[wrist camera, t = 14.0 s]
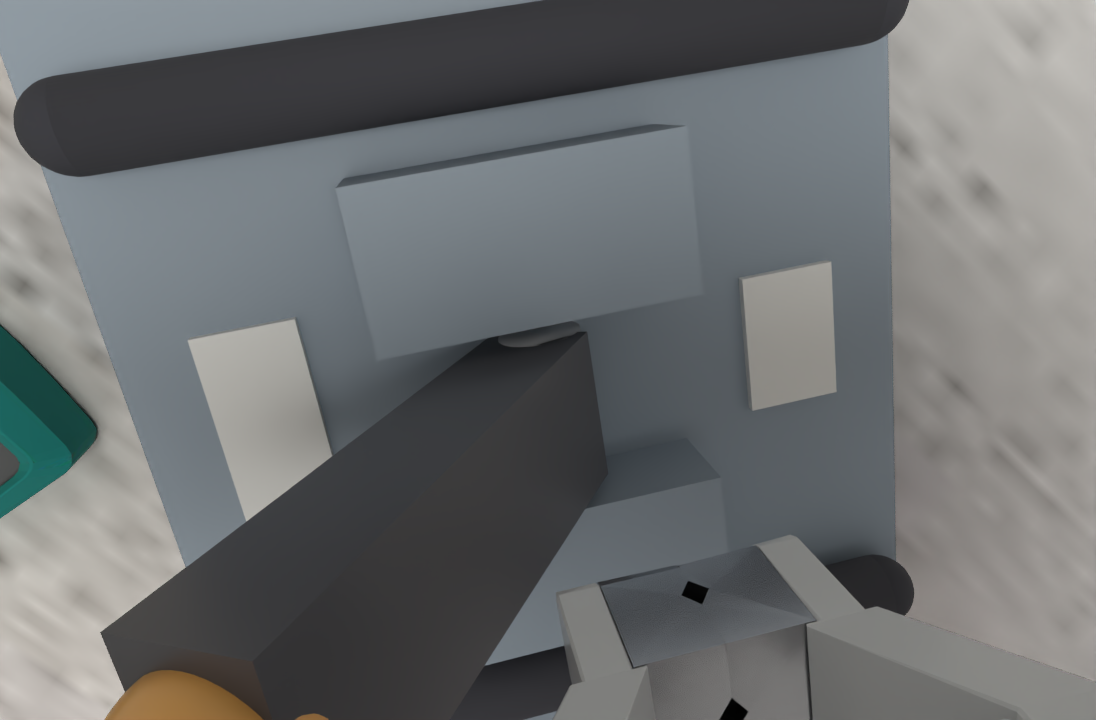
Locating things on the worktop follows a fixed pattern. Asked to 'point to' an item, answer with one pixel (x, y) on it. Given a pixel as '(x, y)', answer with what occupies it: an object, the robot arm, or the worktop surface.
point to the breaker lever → (382, 555)
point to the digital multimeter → (35, 426)
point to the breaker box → (507, 285)
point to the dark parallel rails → (428, 92)
